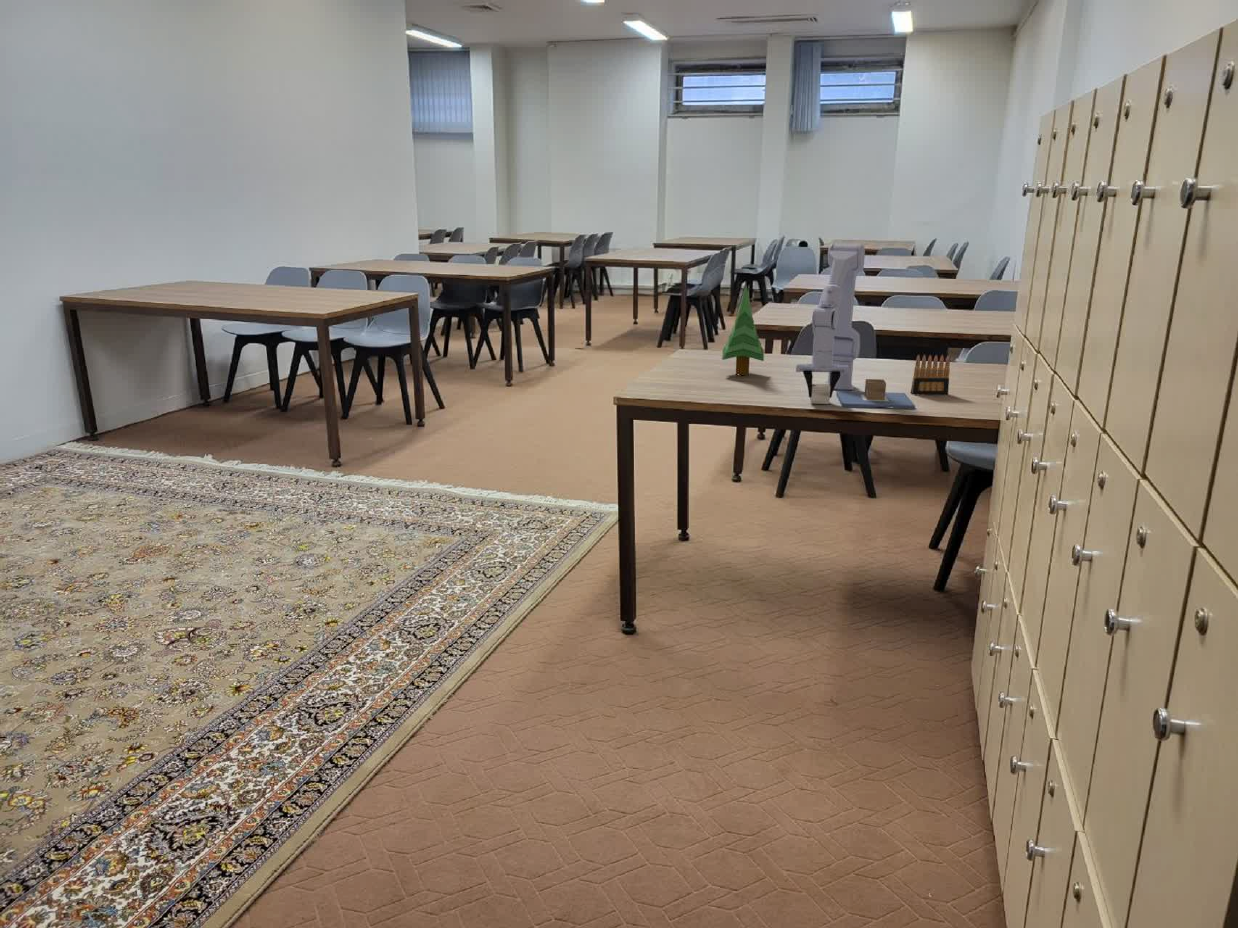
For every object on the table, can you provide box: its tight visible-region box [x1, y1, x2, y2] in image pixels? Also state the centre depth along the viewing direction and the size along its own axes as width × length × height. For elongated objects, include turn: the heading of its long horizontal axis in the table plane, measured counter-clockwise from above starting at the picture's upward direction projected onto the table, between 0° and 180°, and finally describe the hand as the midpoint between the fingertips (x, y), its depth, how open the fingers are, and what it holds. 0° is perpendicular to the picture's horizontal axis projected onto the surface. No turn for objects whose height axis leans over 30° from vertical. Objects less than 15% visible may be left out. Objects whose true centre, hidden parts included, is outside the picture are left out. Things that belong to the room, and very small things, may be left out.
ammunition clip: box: [910, 354, 951, 396], centre depth 264 cm, size 11×2×12 cm, turn 88°
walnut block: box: [864, 378, 887, 400], centre depth 255 cm, size 5×5×5 cm
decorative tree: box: [721, 284, 765, 375], centre depth 289 cm, size 14×16×30 cm
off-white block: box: [809, 382, 831, 405], centre depth 254 cm, size 5×5×5 cm
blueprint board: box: [835, 390, 916, 410], centre depth 256 cm, size 16×20×1 cm
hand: (819, 396), depth 254 cm, fingers closed on off-white block, 5 cm apart
